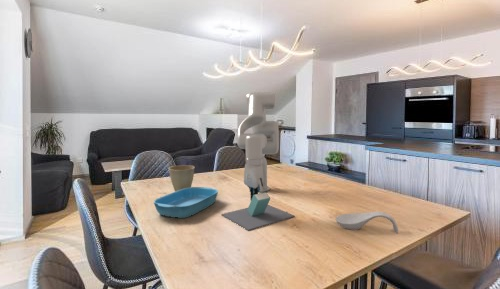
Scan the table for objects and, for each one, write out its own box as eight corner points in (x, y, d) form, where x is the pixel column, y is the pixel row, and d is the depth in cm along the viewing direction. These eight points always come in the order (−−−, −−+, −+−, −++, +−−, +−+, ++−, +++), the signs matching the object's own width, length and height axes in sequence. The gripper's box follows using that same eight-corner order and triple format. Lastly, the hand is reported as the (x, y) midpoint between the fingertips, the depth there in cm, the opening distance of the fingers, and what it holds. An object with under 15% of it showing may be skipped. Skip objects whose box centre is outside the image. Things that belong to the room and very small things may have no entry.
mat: (221, 215, 134) (221, 214, 134) (265, 204, 149) (265, 203, 149) (248, 231, 116) (248, 229, 116) (294, 217, 131) (294, 215, 131)
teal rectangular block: (247, 210, 133) (253, 194, 128) (259, 207, 137) (266, 191, 132) (251, 216, 131) (258, 200, 126) (263, 213, 135) (270, 197, 129)
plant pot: (164, 196, 165) (163, 169, 163) (177, 189, 179) (176, 164, 178) (188, 198, 162) (187, 170, 160) (199, 191, 176) (198, 165, 174)
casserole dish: (191, 196, 166) (190, 184, 166) (225, 200, 158) (224, 187, 157) (144, 218, 133) (143, 203, 132) (184, 225, 124) (183, 209, 123)
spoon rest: (335, 231, 116) (335, 214, 115) (335, 220, 127) (335, 204, 126) (400, 238, 109) (401, 219, 108) (394, 226, 120) (395, 209, 120)
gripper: (238, 160, 136) (238, 198, 138) (256, 165, 124) (257, 206, 126) (251, 159, 140) (251, 195, 142) (270, 163, 128) (270, 203, 130)
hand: (254, 200), depth 134 cm, fingers closed
